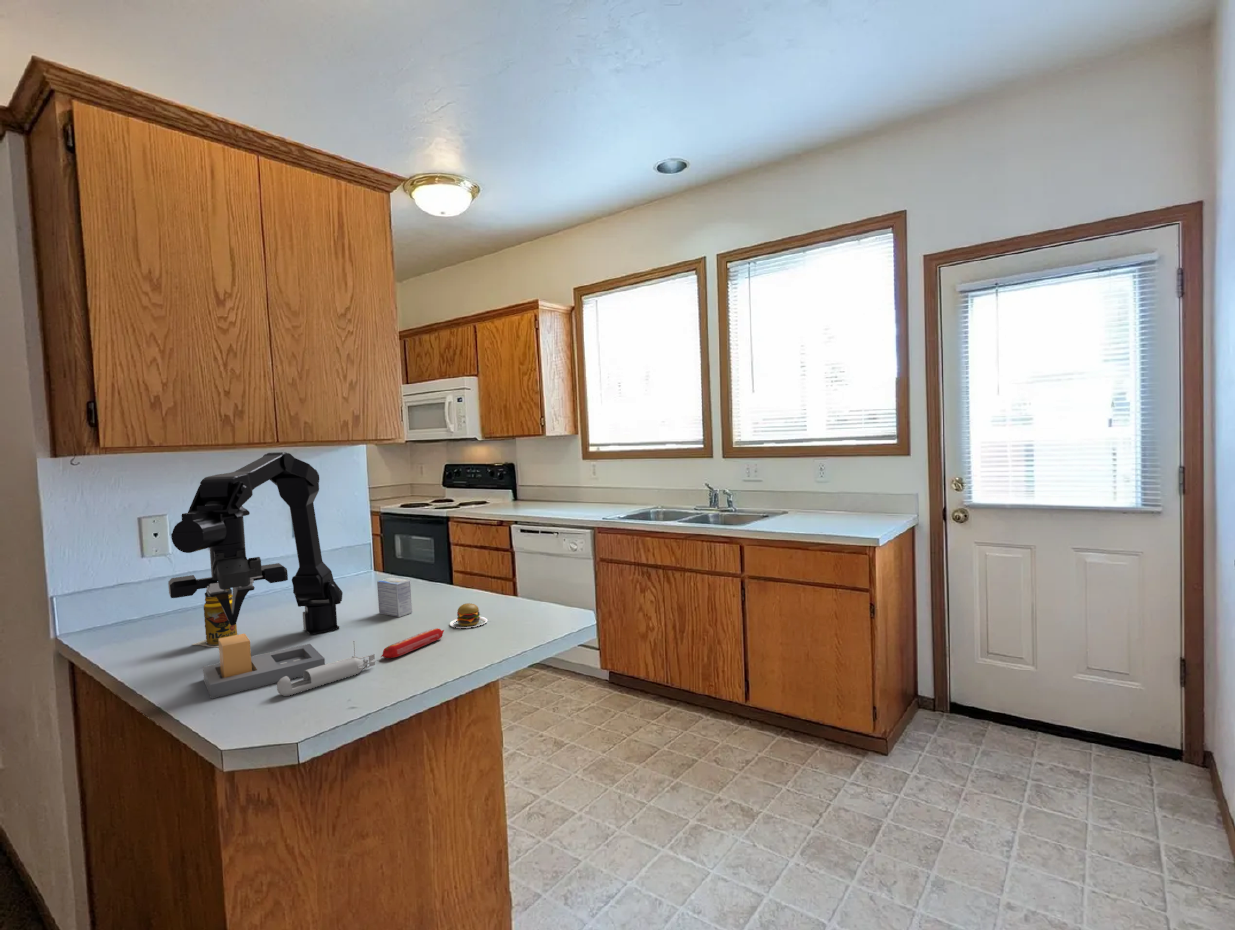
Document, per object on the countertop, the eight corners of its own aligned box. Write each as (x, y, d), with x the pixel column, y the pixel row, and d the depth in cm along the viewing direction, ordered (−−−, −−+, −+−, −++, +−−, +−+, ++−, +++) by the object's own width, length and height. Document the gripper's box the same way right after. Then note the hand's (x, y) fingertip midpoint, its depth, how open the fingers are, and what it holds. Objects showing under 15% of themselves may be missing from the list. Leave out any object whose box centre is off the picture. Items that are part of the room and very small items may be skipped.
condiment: (219, 647, 142) (215, 594, 141) (191, 645, 145) (187, 593, 144) (247, 637, 149) (244, 586, 148) (219, 635, 152) (216, 585, 151)
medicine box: (412, 613, 164) (411, 579, 164) (398, 617, 161) (396, 583, 160) (392, 609, 169) (391, 577, 168) (378, 613, 165) (376, 580, 164)
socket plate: (310, 655, 135) (309, 643, 135) (325, 670, 125) (324, 658, 125) (203, 679, 123) (202, 666, 123) (211, 698, 114) (210, 684, 113)
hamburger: (475, 616, 162) (473, 594, 162) (504, 624, 154) (503, 601, 154) (433, 628, 153) (431, 605, 153) (461, 637, 145) (460, 613, 145)
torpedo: (284, 702, 111) (281, 665, 111) (273, 695, 115) (271, 659, 114) (381, 671, 125) (379, 638, 124) (369, 665, 128) (367, 633, 128)
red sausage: (434, 637, 145) (433, 624, 144) (446, 639, 143) (446, 626, 143) (378, 661, 131) (377, 646, 130) (390, 663, 129) (390, 649, 129)
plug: (244, 664, 127) (242, 630, 127) (252, 677, 120) (249, 640, 120) (218, 670, 124) (216, 635, 124) (225, 683, 117) (222, 646, 117)
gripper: (169, 555, 108) (176, 646, 109) (291, 540, 119) (296, 623, 120) (165, 547, 117) (171, 632, 117) (279, 534, 128) (284, 611, 129)
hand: (232, 624), depth 121 cm, fingers closed
